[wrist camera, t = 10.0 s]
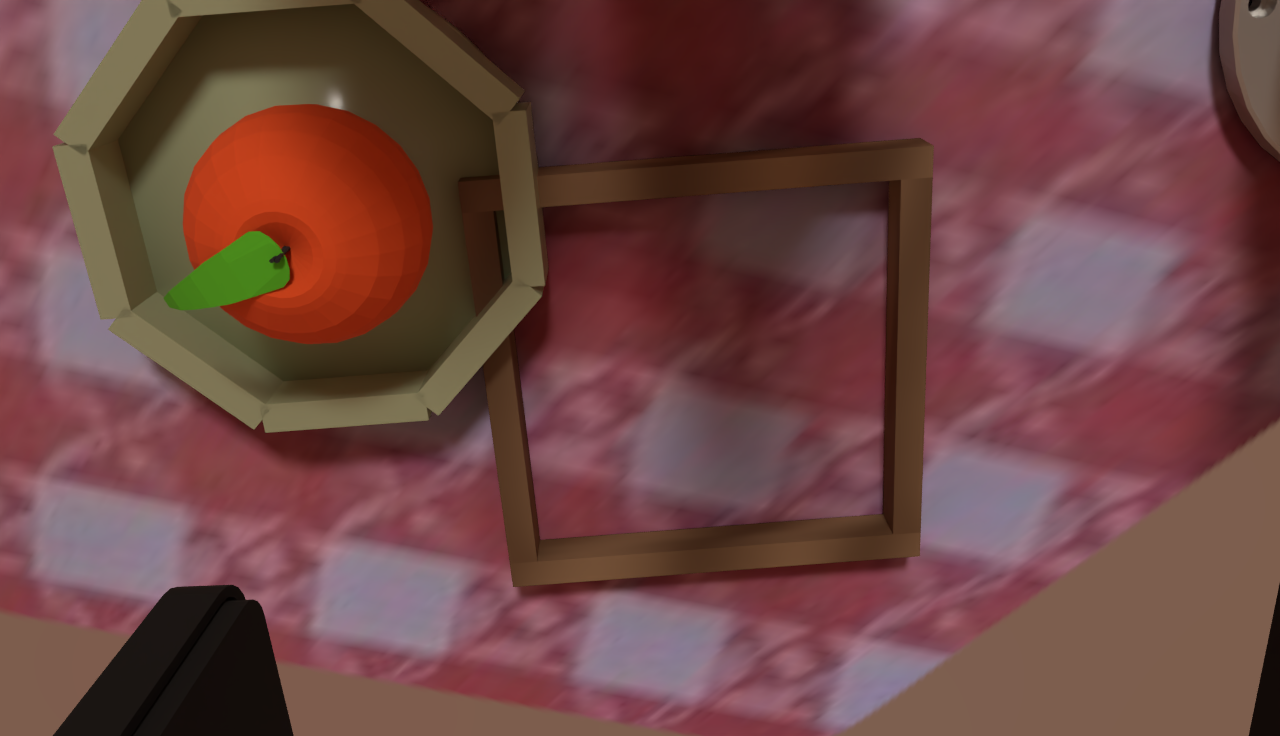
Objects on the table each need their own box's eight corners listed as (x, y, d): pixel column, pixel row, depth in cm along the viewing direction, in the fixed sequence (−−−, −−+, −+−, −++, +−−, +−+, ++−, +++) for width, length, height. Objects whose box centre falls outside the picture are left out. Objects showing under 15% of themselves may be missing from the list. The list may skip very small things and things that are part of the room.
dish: (517, -47, 31) (508, -47, 29) (562, 378, 36) (558, 410, 34) (58, -11, 31) (8, -9, 29) (169, 408, 36) (135, 442, 34)
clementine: (279, 347, 35) (202, 438, 28) (159, 163, 33) (44, 215, 26) (487, 249, 34) (458, 318, 27) (379, 50, 31) (317, 74, 25)
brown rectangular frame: (920, 138, 34) (933, 145, 32) (908, 535, 39) (919, 556, 38) (463, 173, 34) (457, 182, 32) (516, 564, 39) (513, 586, 38)
